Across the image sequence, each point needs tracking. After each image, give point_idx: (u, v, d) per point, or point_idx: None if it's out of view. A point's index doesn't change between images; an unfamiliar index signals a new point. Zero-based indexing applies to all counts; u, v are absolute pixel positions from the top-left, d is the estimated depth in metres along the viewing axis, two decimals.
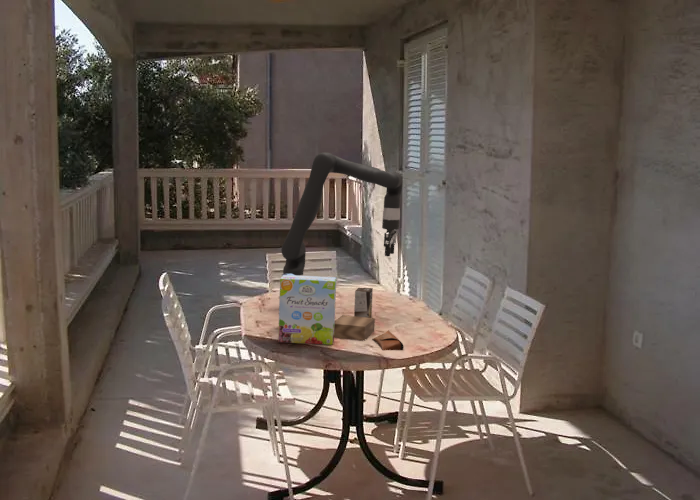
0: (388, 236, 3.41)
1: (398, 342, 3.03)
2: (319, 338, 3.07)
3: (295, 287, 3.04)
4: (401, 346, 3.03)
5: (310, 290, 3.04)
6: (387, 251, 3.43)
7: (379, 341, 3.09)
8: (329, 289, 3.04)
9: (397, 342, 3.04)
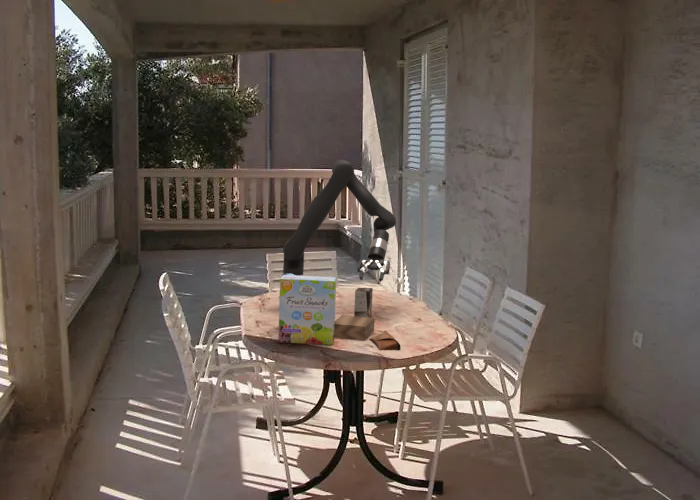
0: (389, 265, 3.50)
1: (395, 342, 3.03)
2: (319, 338, 3.07)
3: (295, 287, 3.04)
4: (398, 346, 3.03)
5: (310, 290, 3.04)
6: (383, 277, 3.47)
7: (376, 341, 3.09)
8: (329, 289, 3.04)
9: (394, 342, 3.03)
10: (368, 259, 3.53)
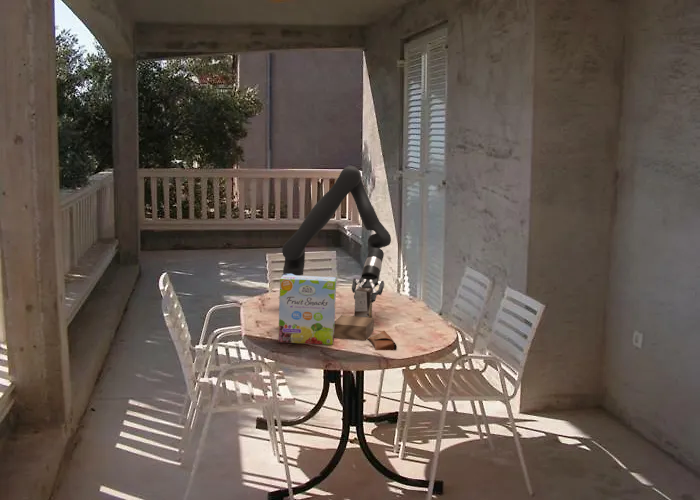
0: (383, 286, 3.42)
1: (391, 342, 3.03)
2: (319, 338, 3.07)
3: (295, 287, 3.04)
4: (394, 346, 3.03)
5: (310, 290, 3.04)
6: (375, 297, 3.39)
7: (373, 341, 3.09)
8: (329, 289, 3.04)
9: (390, 342, 3.03)
10: (362, 278, 3.45)
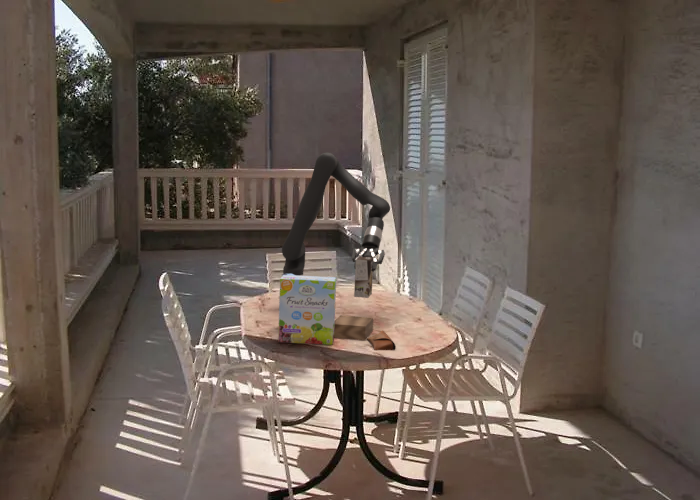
0: (384, 255, 3.39)
1: (390, 342, 3.03)
2: (319, 338, 3.07)
3: (295, 287, 3.04)
4: (393, 346, 3.03)
5: (310, 290, 3.04)
6: (376, 266, 3.35)
7: (372, 341, 3.09)
8: (329, 289, 3.04)
9: (389, 342, 3.03)
10: (362, 247, 3.41)
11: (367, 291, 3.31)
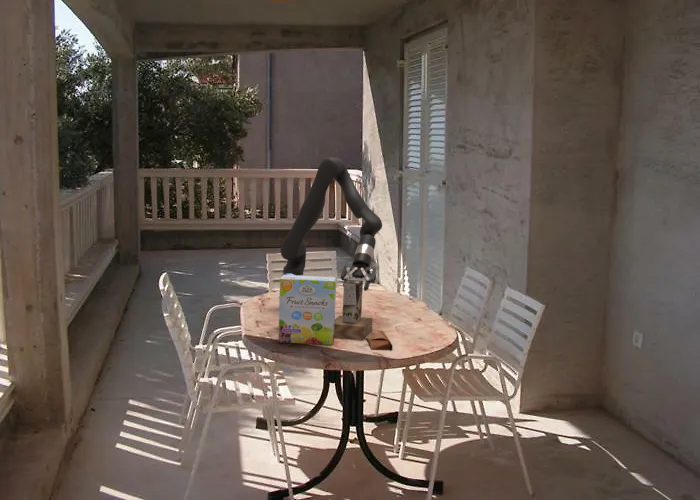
0: (375, 273, 3.27)
1: (387, 342, 3.03)
2: (319, 338, 3.07)
3: (295, 287, 3.04)
4: (390, 346, 3.02)
5: (310, 290, 3.04)
6: (368, 285, 3.23)
7: (370, 341, 3.09)
8: (329, 289, 3.04)
9: (386, 342, 3.03)
10: (353, 266, 3.29)
11: (355, 316, 3.20)
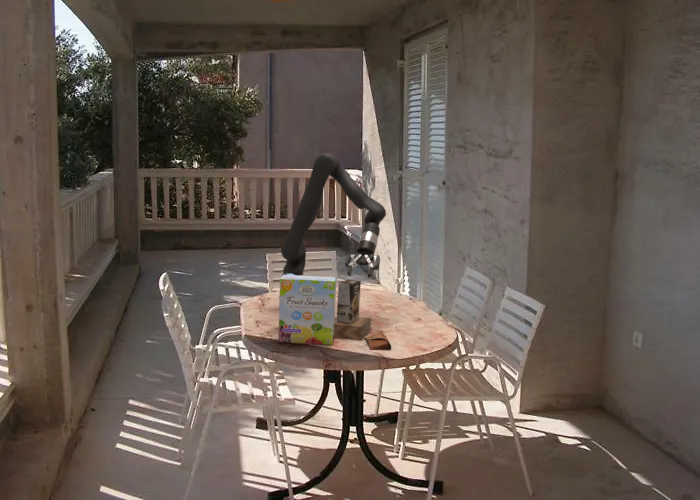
0: (379, 260, 3.32)
1: (386, 342, 3.03)
2: (319, 338, 3.07)
3: (295, 287, 3.04)
4: (389, 346, 3.02)
5: (310, 290, 3.04)
6: (372, 272, 3.29)
7: (368, 341, 3.09)
8: (329, 289, 3.04)
9: (385, 342, 3.03)
10: (357, 253, 3.34)
11: (349, 316, 3.19)
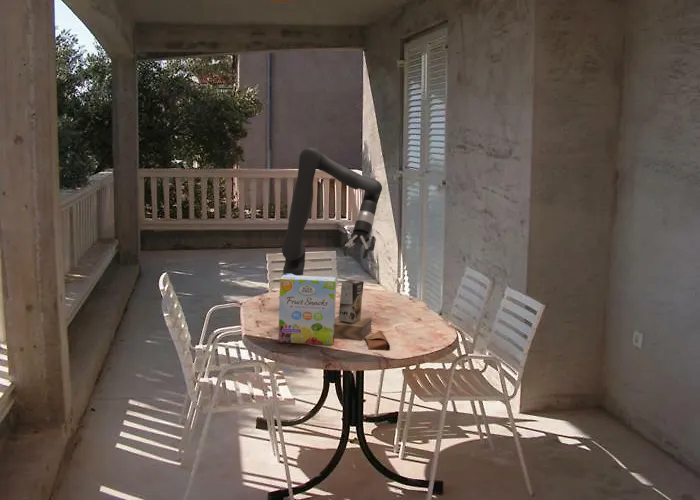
0: (375, 241, 3.42)
1: (384, 342, 3.03)
2: (319, 338, 3.07)
3: (295, 287, 3.04)
4: (387, 346, 3.02)
5: (310, 290, 3.04)
6: (367, 254, 3.40)
7: (368, 341, 3.09)
8: (329, 289, 3.04)
9: (384, 342, 3.03)
10: (353, 233, 3.44)
11: (351, 316, 3.19)
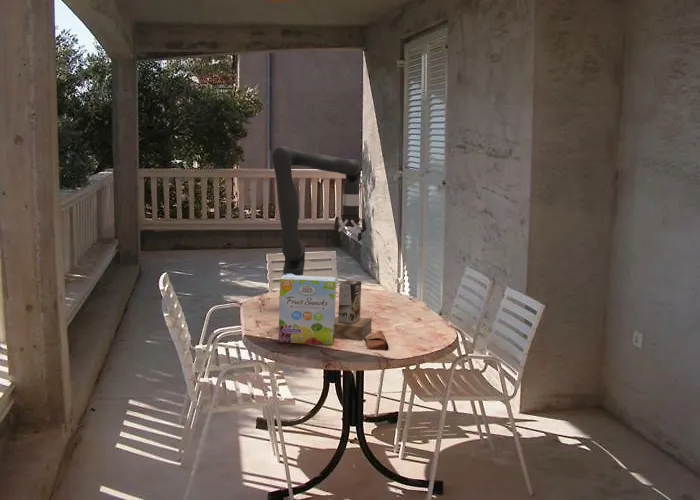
0: (365, 221, 3.52)
1: (383, 342, 3.02)
2: (319, 338, 3.07)
3: (295, 287, 3.04)
4: (386, 346, 3.02)
5: (310, 290, 3.04)
6: (361, 236, 3.53)
7: (367, 341, 3.09)
8: (329, 289, 3.04)
9: (382, 342, 3.03)
10: (343, 217, 3.53)
11: (351, 316, 3.19)
